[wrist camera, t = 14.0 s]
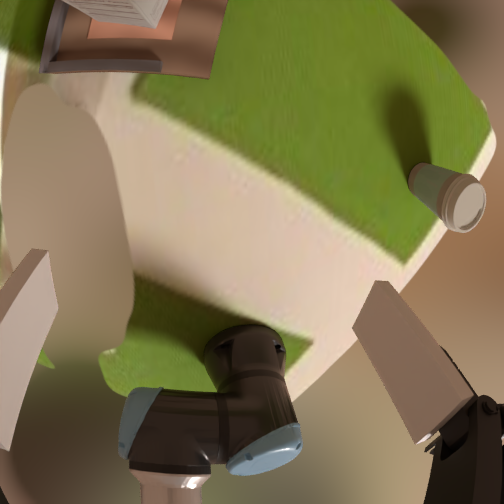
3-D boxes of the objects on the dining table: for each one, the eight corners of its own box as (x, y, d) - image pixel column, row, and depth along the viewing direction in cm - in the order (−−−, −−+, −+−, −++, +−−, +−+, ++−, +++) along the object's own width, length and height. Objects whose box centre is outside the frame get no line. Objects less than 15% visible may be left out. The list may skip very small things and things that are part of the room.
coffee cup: (398, 204, 44) (444, 239, 34) (404, 153, 40) (457, 178, 30) (434, 202, 45) (480, 233, 35) (441, 155, 41) (493, 179, 31)
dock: (208, 79, 31) (209, 77, 27) (56, 73, 26) (38, 72, 22) (239, -41, 23) (245, -57, 19) (89, -45, 18) (77, -58, 14)
